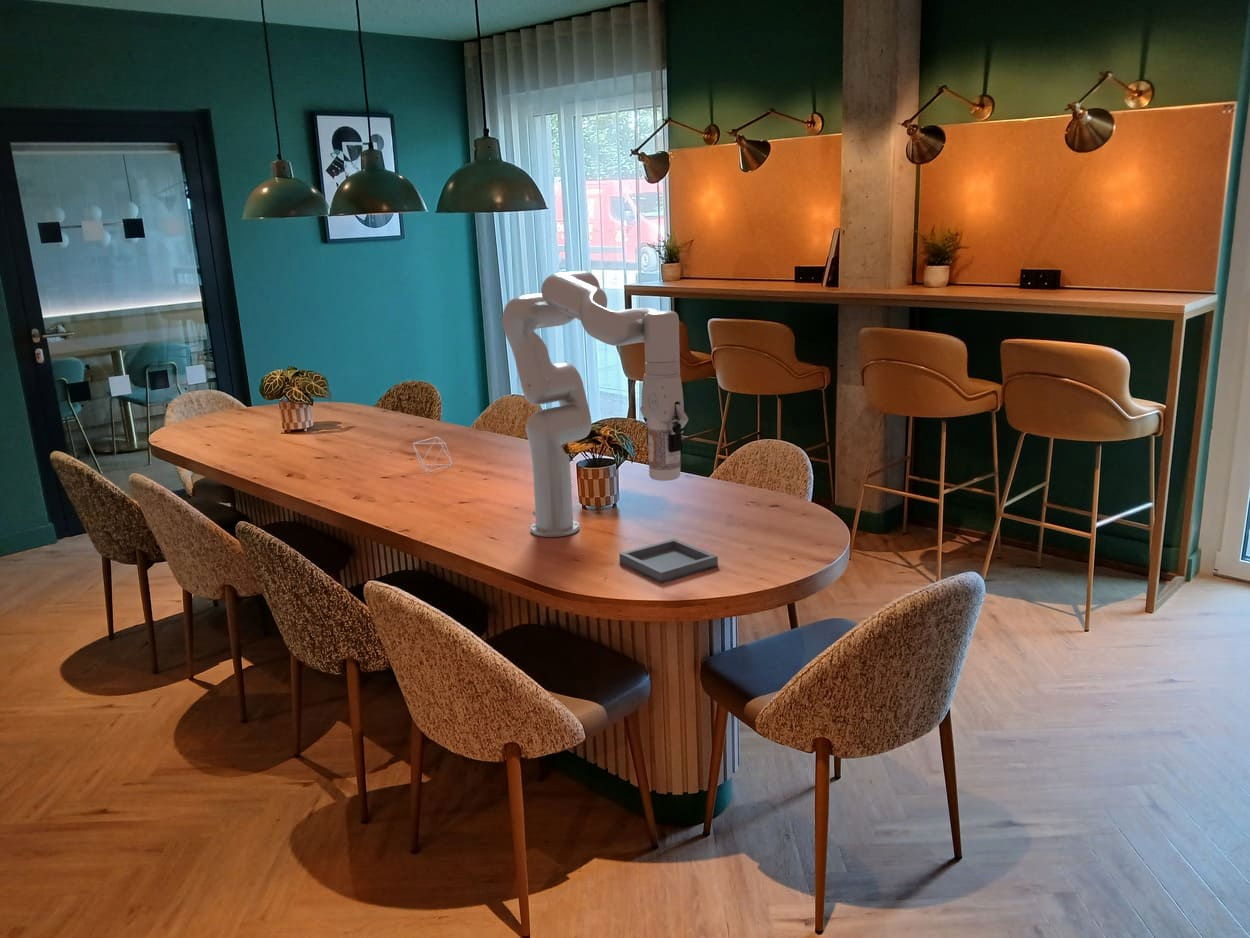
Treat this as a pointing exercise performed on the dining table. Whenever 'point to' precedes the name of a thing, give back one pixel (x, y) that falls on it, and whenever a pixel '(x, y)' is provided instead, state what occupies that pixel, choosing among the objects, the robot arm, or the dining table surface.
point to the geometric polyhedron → (428, 451)
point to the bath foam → (661, 452)
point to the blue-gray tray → (668, 560)
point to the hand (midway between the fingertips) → (664, 447)
